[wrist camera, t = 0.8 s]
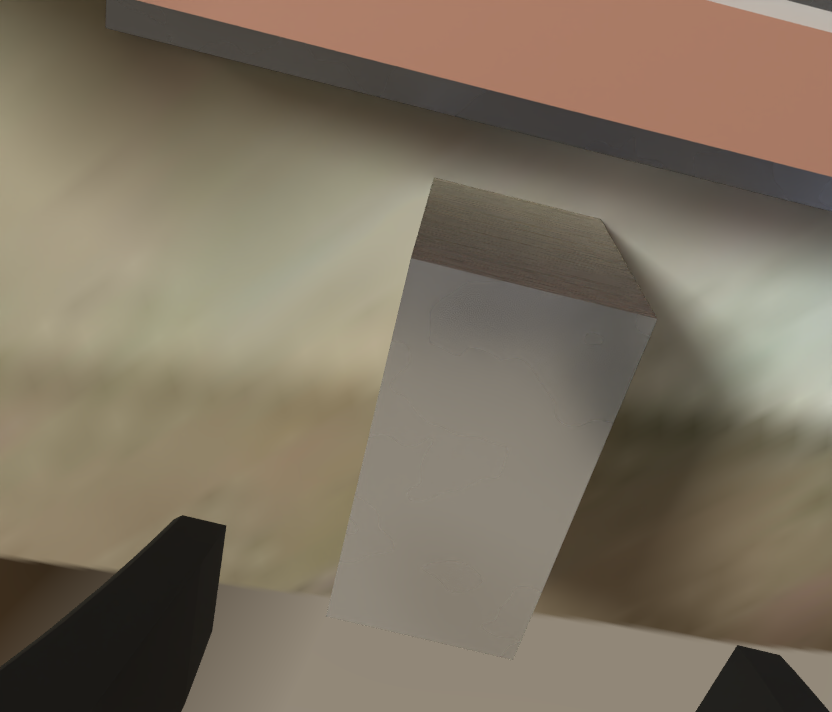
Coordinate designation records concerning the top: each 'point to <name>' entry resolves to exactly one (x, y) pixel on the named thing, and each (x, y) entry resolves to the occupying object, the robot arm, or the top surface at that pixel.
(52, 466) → the top surface
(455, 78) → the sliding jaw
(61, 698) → the robot arm
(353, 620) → the steel block
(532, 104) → the vise bed
